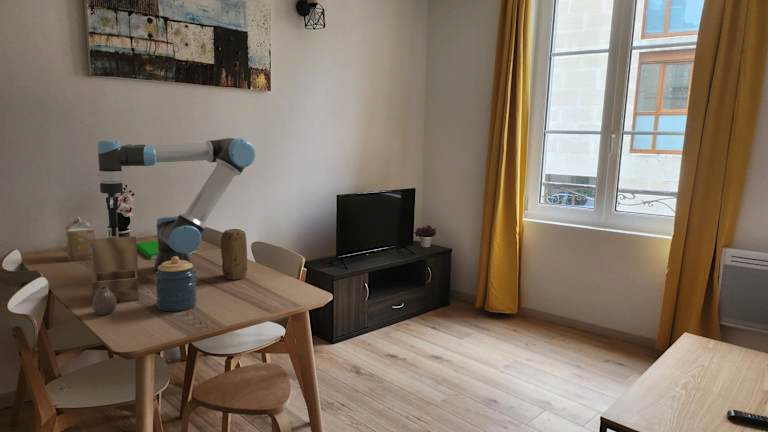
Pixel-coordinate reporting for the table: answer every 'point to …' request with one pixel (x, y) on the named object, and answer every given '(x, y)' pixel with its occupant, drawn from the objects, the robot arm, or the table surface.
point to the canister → (176, 285)
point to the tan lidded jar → (79, 240)
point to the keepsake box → (118, 284)
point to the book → (152, 249)
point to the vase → (104, 301)
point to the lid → (114, 254)
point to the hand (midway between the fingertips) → (114, 244)
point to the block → (234, 253)
